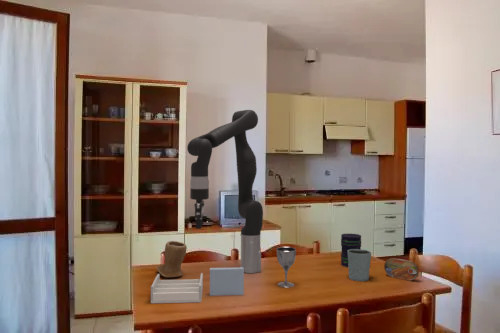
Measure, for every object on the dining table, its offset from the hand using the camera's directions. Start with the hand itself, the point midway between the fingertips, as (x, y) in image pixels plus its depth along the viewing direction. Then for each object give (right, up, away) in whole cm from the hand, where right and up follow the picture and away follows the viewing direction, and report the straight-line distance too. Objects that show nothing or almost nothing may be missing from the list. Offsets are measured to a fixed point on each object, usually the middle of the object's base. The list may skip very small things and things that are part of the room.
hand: (199, 226), depth 161 cm
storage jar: (+71, -25, +35) cm, 83 cm away
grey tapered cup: (+69, -25, +12) cm, 75 cm away
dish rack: (-7, -24, -11) cm, 28 cm away
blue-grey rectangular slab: (+12, -25, -10) cm, 29 cm away
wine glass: (+36, -25, +3) cm, 44 cm away
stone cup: (-14, -24, +16) cm, 33 cm away
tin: (+88, -25, +13) cm, 93 cm away
